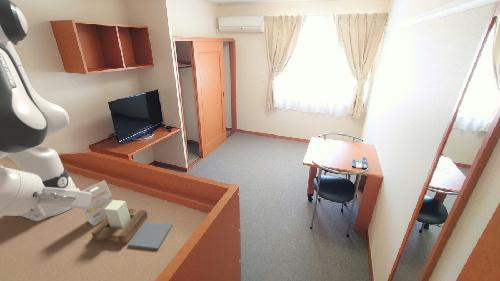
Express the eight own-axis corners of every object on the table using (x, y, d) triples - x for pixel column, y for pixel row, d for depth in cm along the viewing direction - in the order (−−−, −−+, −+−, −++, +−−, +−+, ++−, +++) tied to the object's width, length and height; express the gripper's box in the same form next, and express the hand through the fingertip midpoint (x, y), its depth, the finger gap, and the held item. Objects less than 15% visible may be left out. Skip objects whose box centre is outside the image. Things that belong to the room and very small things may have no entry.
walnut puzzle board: (94, 239, 76) (91, 232, 74) (118, 213, 86) (116, 207, 85) (127, 243, 74) (125, 236, 73) (147, 216, 85) (146, 210, 84)
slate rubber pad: (128, 246, 73) (128, 244, 73) (145, 223, 82) (145, 221, 82) (158, 249, 72) (157, 248, 71) (172, 225, 81) (172, 224, 80)
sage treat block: (112, 231, 79) (104, 208, 74) (120, 222, 83) (113, 199, 78) (124, 233, 78) (116, 210, 74) (132, 223, 82) (125, 201, 78)
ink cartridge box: (110, 207, 90) (99, 175, 84) (117, 212, 87) (106, 179, 81) (86, 221, 83) (72, 187, 77) (93, 226, 81) (80, 192, 75)
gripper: (65, 180, 47) (111, 190, 60) (-19, 175, 50) (43, 186, 62) (53, 212, 44) (104, 216, 57) (-34, 205, 47) (33, 210, 60)
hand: (71, 200), depth 60 cm, fingers open, 8 cm apart
